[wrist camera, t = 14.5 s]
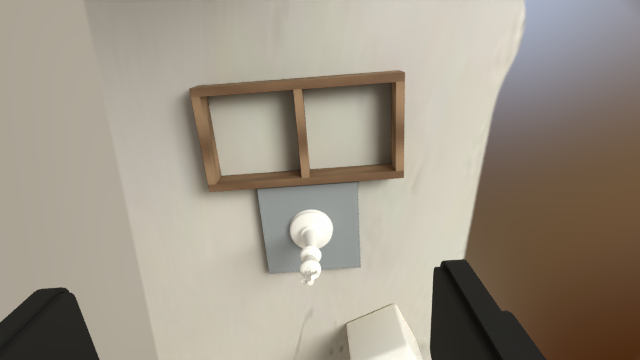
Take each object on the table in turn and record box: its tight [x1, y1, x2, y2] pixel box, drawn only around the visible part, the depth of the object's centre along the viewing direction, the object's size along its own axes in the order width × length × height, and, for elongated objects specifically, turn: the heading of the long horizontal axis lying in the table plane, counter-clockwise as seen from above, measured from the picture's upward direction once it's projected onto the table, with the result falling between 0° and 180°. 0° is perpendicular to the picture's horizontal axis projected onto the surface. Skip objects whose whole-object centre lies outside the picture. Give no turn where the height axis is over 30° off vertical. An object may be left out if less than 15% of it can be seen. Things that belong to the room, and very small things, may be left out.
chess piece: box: [290, 209, 333, 286], centre depth 37 cm, size 5×5×10 cm
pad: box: [257, 181, 361, 274], centre depth 42 cm, size 11×11×1 cm
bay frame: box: [189, 71, 405, 192], centre depth 37 cm, size 11×20×2 cm, turn 94°
